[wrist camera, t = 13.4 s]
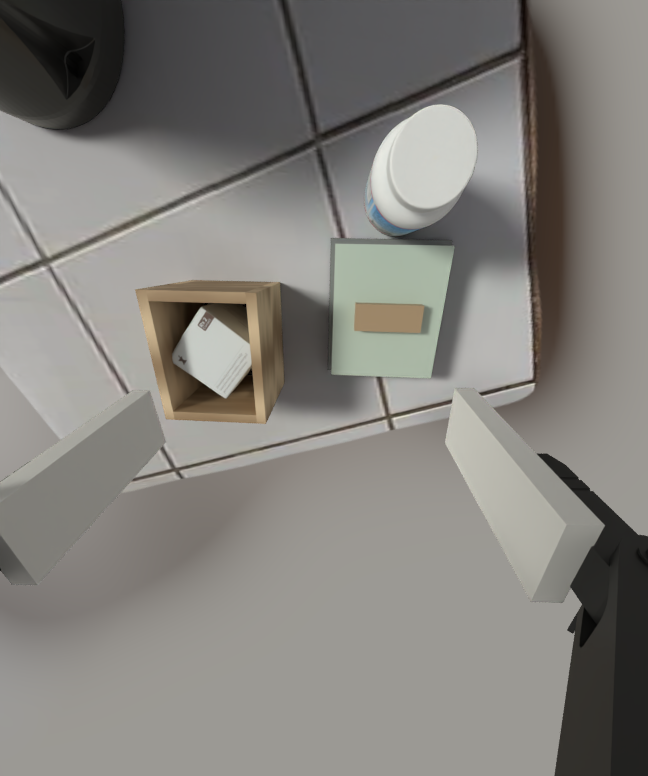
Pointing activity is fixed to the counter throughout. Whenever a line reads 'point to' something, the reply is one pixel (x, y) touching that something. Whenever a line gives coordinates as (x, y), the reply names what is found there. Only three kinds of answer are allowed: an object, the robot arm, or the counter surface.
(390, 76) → the counter surface
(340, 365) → the lid
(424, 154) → the pill bottle
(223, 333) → the skincare box
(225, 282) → the box
